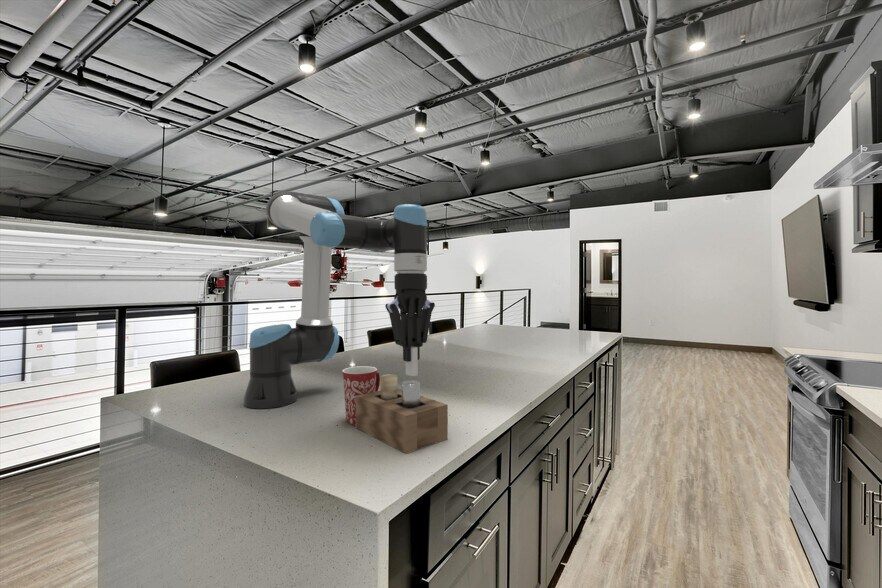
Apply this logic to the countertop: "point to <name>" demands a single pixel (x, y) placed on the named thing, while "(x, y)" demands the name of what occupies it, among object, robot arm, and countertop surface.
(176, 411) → the countertop surface
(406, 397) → the steel peg
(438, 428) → the socket block
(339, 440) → the countertop surface
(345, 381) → the mug
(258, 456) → the countertop surface
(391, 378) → the beech peg
